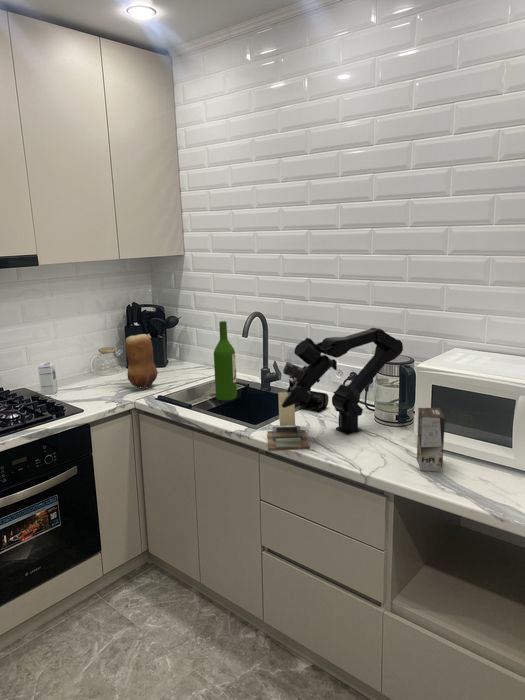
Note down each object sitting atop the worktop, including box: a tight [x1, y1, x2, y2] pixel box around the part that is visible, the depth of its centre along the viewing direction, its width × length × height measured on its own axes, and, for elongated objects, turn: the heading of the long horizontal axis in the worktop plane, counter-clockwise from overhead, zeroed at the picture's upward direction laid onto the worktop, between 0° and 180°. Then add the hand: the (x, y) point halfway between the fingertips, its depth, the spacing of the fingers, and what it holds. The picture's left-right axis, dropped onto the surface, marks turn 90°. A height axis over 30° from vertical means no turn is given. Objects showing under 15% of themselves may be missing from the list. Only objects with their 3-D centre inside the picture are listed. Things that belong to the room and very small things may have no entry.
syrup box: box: [37, 362, 59, 396], centre depth 235 cm, size 6×6×14 cm
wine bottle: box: [213, 320, 238, 402], centre depth 222 cm, size 9×9×32 cm
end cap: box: [298, 390, 329, 414], centre depth 207 cm, size 10×7×7 cm
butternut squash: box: [124, 333, 159, 389], centre depth 241 cm, size 14×13×25 cm
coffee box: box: [416, 407, 446, 472], centre depth 153 cm, size 9×6×16 cm
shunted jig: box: [267, 425, 310, 451], centre depth 176 cm, size 15×13×3 cm
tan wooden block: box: [277, 391, 296, 427], centre depth 176 cm, size 5×5×10 cm
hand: (282, 404), depth 176 cm, fingers closed on tan wooden block, 5 cm apart
